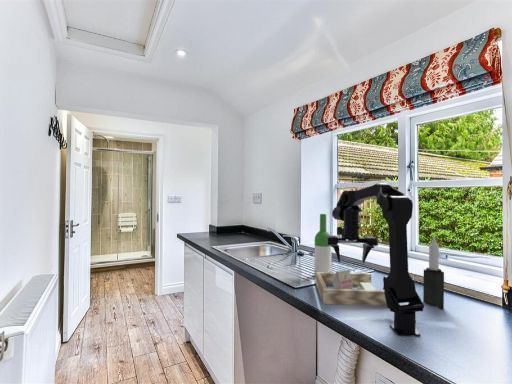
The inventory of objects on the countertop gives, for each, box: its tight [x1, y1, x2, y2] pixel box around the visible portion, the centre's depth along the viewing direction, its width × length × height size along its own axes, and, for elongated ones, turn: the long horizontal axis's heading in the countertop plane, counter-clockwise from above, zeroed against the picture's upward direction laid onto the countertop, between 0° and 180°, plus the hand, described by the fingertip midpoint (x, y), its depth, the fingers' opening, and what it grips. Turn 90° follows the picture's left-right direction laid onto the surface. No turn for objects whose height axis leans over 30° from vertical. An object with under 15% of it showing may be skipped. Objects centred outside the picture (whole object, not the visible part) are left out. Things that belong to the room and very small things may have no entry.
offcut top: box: [359, 282, 376, 290], centre depth 113 cm, size 4×14×2 cm, turn 172°
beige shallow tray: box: [314, 271, 387, 307], centre depth 114 cm, size 23×22×6 cm
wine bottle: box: [313, 213, 332, 276], centre depth 137 cm, size 8×8×30 cm
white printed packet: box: [332, 269, 353, 289], centre depth 114 cm, size 4×7×10 cm, turn 119°
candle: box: [422, 236, 445, 310], centre depth 104 cm, size 5×5×25 cm
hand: (351, 262), depth 114 cm, fingers open, 9 cm apart
